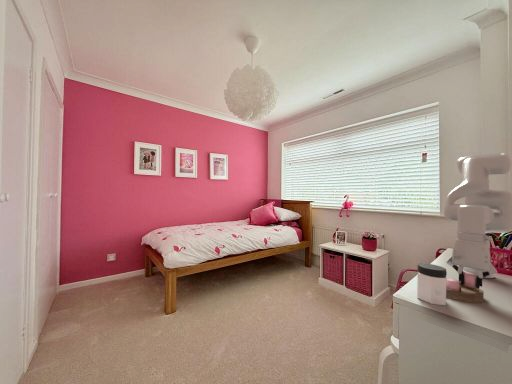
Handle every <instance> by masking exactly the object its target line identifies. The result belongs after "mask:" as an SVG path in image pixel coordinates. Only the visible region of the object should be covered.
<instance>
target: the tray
mask: <svg viewBox="0 0 512 384" xmlns="http://www.w3.org/2000/svg"><path fill="white" fill-rule="evenodd" d="M458 281H459V280H458ZM484 292H485V291H484V290H483V289H481V288H479V289H477V288H472V287H468V286H465V285H461V282H460V281H459V292H457V291H454V290H450V289H446V298H450V299H452V300H456V301H459V302H466V303H474V304H476V303H483V302H484V298H485V296H484V294H485V293H484Z"/></svg>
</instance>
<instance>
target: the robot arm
mask: <svg viewBox="0 0 512 384" xmlns="http://www.w3.org/2000/svg"><path fill="white" fill-rule="evenodd" d="M456 165H457V169H458V171H459V173H460V176H461V177H460V184H459V185H458V186H456V187H455V188H453V189H452V190H451V191H449V192H448V194H447V196H446V197H445V200H444V208H443V209H444V210H443V215H444V216H443V217H444V219H446V220H448V221H449V222H454V223H455V222H456V224H457V226H456V227H457V228H456V231H457V232H456V235H457V236H456V238H455V239H454V241H453V245H452V252H451V255H452V256H451V257H450V258H449V259H448V260H447V261H446V262H445V263H446V264H447V265H449V266H450V267H452V268H453V269H454V270H455V271H456V272H457V274H458V281H460V282H461V285H464V272H468V273H473V274H476V275H477V278H476V288H477V289H481V288H480V287H483V279H494V278H495V275H496V274H498V271H497V269H496V268H495V267H494V265H493V264H492V262H491V258H492V257H491V241H492V236H489V235H486V232H490V233H491V232H493V233H502V234H503V233H507V234H508V233H510V232H512V193H511V192H510V191H509V190H505V189H490V178H489V177H490V175H506V174H509V172H510V171H511V168H512V160H511V156H510V154H508V153H506V152H499V153H485V154H472V155H466V156H462V157H459V158H458V159H457V162H456ZM462 198H463V199H464V204H463V203H462V204H461V203H459V204H458V203H455V202H456V201H458V200H460V199H462ZM494 210H496V211H498V212H496V211H494Z"/></svg>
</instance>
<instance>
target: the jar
mask: <svg viewBox="0 0 512 384" xmlns="http://www.w3.org/2000/svg"><path fill="white" fill-rule="evenodd" d="M447 275H448V272H447V269H446V268H445V267H443V266H440V265H437V264H432V263H425V262H420V263H417V296H416V297H417V299H418V300H419V299H420V301H421V300H422V301H423V302H425V303H428V304H430V305H439V306H446V305H447V297H446V279H447Z"/></svg>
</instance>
